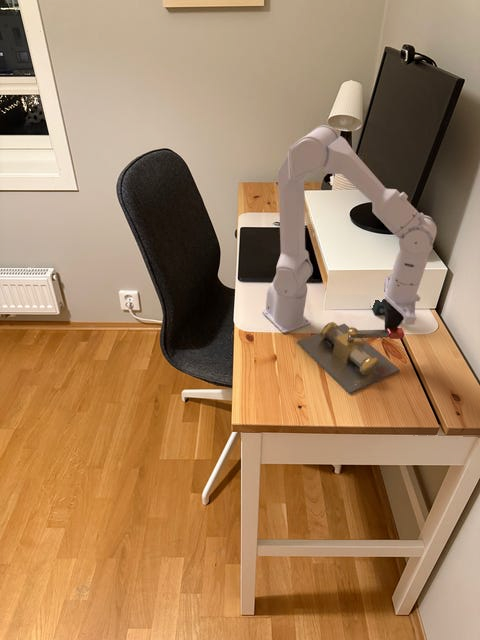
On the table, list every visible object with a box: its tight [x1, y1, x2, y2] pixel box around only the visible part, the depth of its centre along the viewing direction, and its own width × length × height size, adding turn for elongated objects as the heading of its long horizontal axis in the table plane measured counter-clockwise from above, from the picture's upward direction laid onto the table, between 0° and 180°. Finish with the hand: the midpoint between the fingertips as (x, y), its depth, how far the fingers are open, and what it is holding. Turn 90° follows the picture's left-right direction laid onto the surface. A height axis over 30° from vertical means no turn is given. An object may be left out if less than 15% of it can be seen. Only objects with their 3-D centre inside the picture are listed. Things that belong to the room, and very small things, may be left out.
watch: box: [371, 274, 391, 317], centre depth 111 cm, size 6×8×11 cm
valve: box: [296, 321, 401, 395], centre depth 99 cm, size 18×14×5 cm
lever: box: [348, 327, 405, 342], centre depth 97 cm, size 12×2×2 cm, turn 95°
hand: (389, 330), depth 99 cm, fingers closed
